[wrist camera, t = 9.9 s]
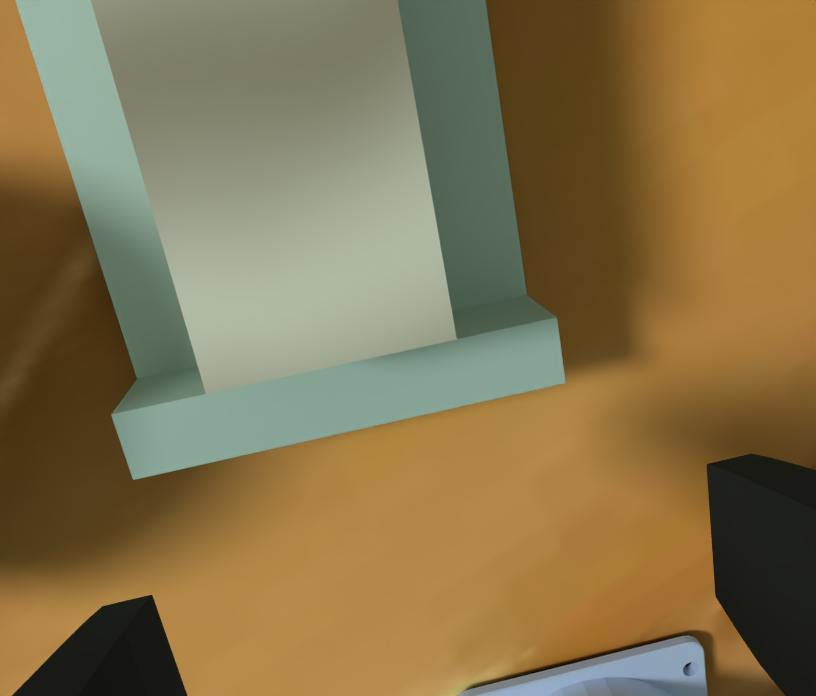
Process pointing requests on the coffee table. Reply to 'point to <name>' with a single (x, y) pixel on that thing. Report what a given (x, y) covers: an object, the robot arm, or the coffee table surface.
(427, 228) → the shelf block
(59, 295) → the coffee table surface
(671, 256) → the coffee table surface
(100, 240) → the peg frame
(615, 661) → the robot arm
